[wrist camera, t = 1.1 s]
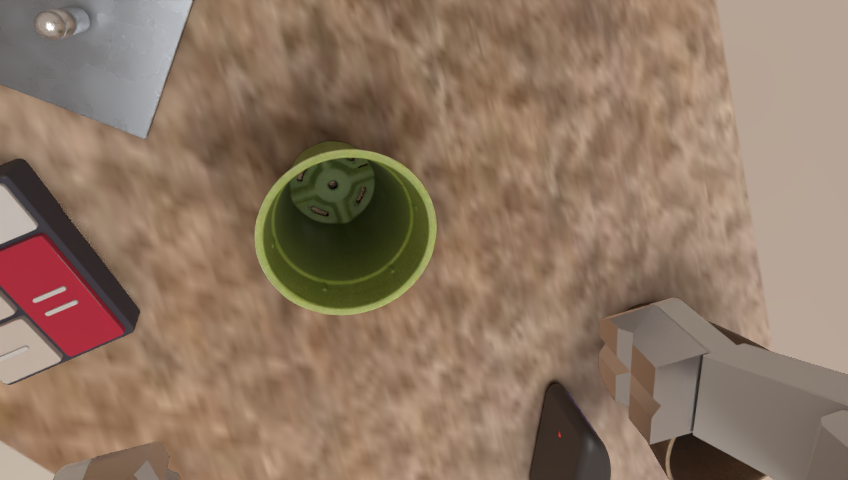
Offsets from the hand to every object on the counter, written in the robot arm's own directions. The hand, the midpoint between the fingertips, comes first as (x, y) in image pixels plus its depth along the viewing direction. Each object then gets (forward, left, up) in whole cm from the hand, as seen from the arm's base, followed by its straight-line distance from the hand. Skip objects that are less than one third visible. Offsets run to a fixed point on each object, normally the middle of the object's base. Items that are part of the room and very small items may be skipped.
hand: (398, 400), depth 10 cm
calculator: (+23, -14, -37) cm, 45 cm away
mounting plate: (+3, -21, -36) cm, 42 cm away
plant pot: (+7, +5, -36) cm, 37 cm away
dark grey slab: (+26, +40, -36) cm, 60 cm away
